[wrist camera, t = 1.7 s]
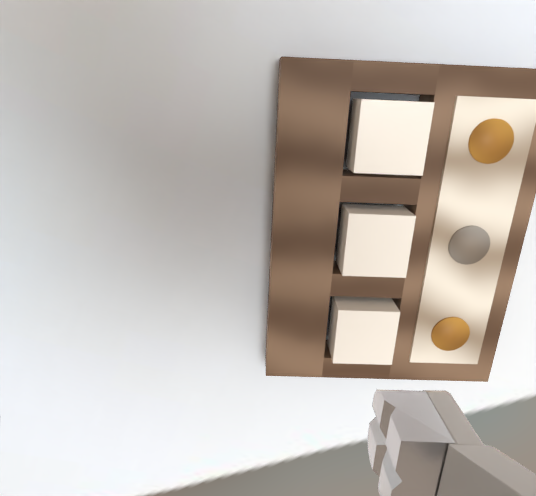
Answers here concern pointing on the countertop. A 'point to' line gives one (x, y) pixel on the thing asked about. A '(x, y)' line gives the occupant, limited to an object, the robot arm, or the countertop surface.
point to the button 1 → (363, 330)
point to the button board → (416, 201)
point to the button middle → (374, 240)
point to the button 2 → (389, 136)
